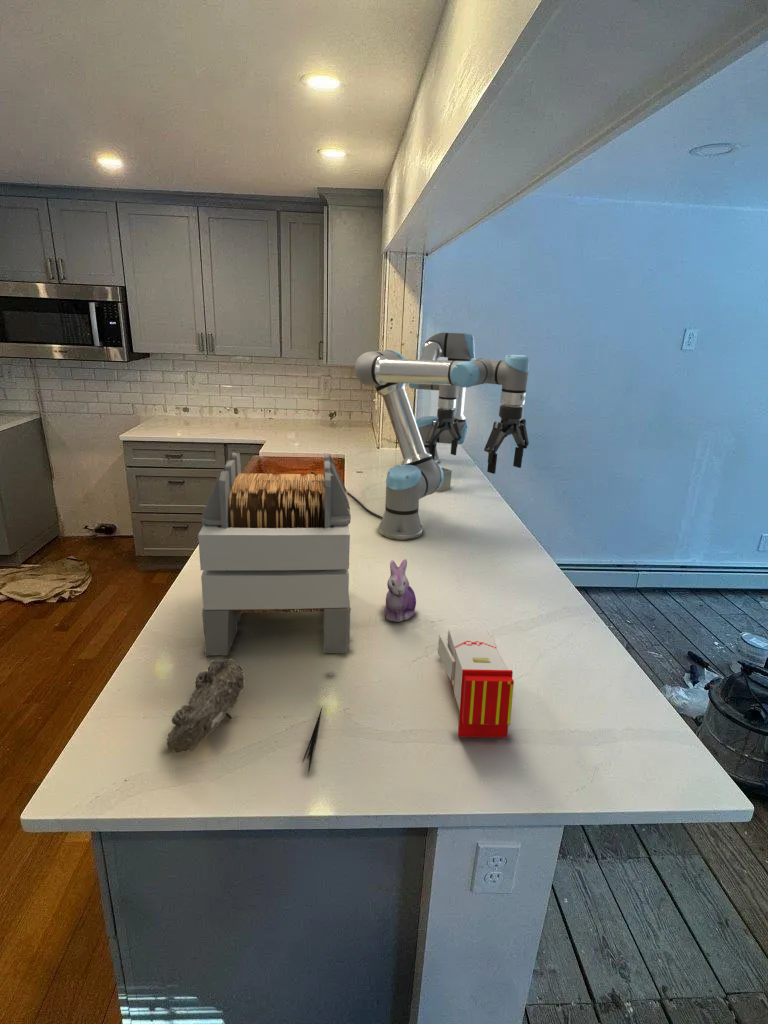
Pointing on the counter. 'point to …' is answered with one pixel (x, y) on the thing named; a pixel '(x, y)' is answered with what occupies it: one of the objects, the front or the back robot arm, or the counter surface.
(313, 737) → the feather
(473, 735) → the toy
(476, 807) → the counter surface
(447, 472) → the grey beige block
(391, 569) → the figurine
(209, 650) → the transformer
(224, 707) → the fossil
